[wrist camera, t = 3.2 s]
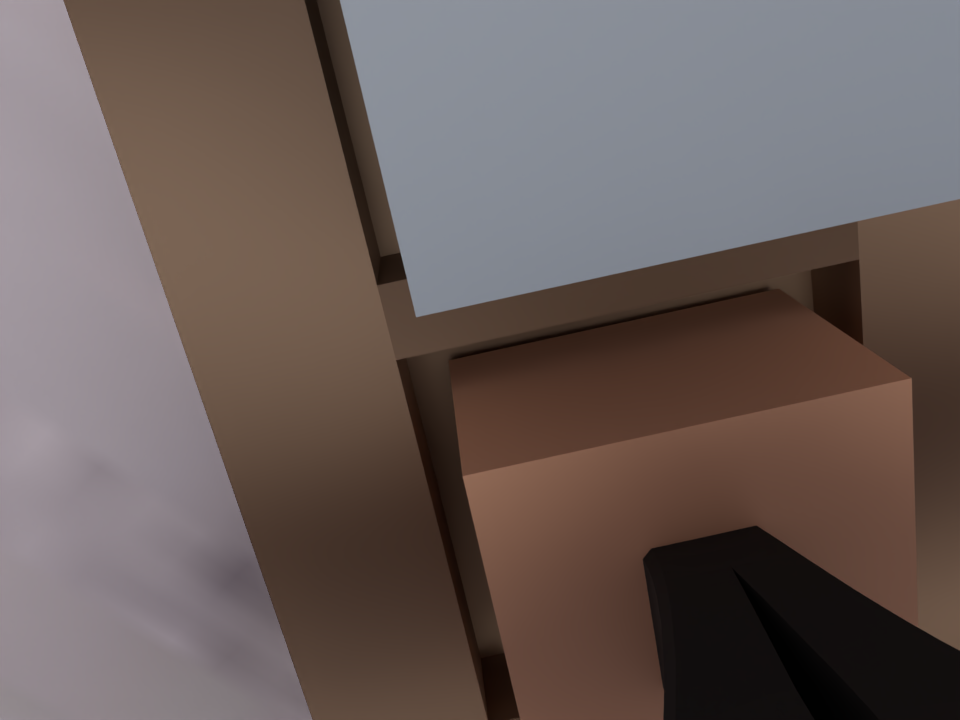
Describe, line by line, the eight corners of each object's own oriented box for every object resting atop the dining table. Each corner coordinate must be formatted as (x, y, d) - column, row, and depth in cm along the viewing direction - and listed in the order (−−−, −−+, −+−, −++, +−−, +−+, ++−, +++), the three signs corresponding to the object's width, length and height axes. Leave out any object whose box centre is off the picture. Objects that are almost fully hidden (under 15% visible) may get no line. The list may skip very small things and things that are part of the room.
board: (962, 930, 19) (1025, 1029, 17) (457, 1041, 19) (462, 1153, 17) (954, -723, 9) (1090, -911, 8) (-46, -506, 9) (-159, -642, 8)
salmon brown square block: (802, 568, 14) (920, 729, 11) (510, 632, 14) (542, 813, 11) (778, 288, 12) (910, 378, 9) (448, 360, 12) (462, 476, 9)
